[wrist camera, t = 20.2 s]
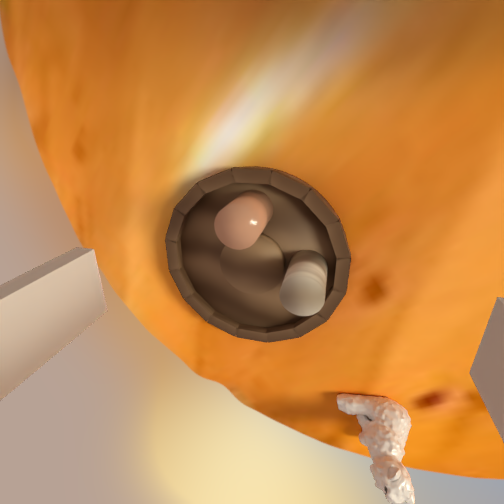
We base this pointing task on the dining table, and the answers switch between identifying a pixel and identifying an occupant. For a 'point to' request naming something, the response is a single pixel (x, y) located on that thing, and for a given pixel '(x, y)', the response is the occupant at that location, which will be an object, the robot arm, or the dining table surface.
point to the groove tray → (284, 226)
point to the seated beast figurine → (383, 441)
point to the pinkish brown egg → (243, 219)
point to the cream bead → (304, 283)
